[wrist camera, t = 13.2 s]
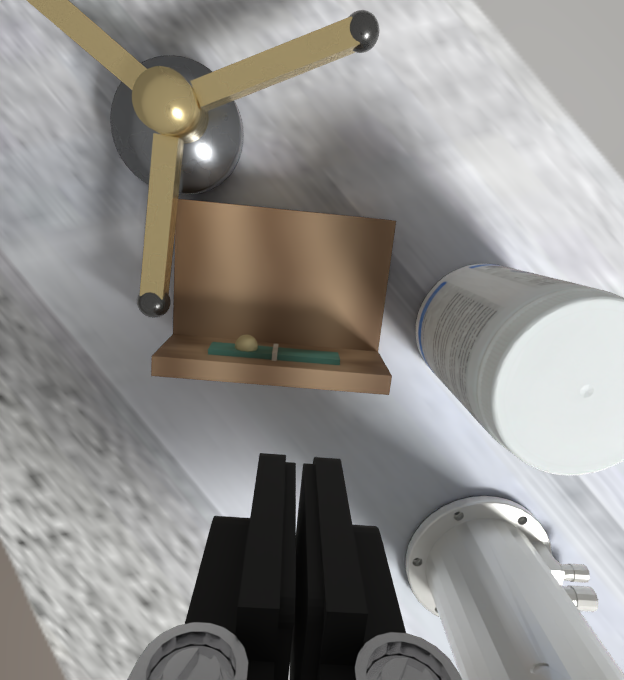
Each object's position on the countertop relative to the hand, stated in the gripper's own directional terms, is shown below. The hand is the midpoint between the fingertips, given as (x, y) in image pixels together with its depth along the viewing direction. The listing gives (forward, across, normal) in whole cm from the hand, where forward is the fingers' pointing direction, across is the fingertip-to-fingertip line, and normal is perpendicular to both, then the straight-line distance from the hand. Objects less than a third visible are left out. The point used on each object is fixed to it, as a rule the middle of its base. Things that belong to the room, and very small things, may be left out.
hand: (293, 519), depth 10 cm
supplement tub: (+27, -14, +1) cm, 31 cm away
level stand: (+27, +1, -1) cm, 27 cm away
